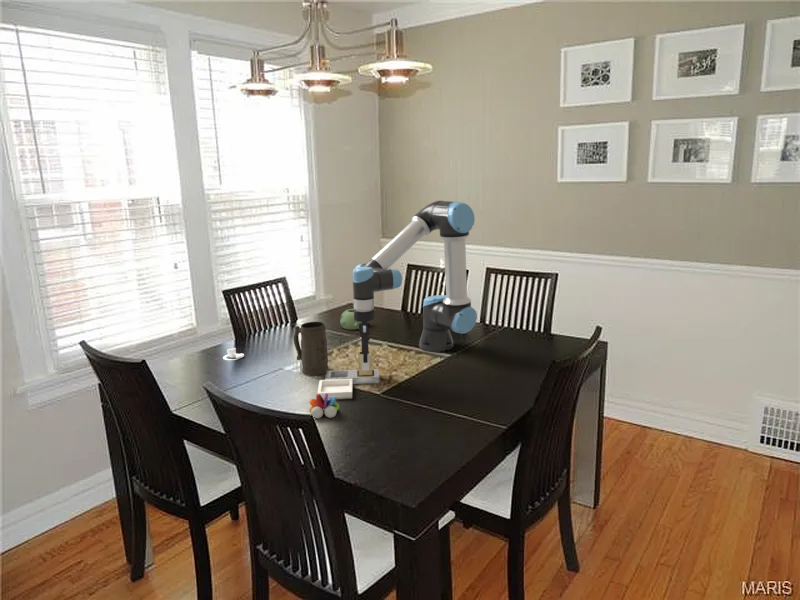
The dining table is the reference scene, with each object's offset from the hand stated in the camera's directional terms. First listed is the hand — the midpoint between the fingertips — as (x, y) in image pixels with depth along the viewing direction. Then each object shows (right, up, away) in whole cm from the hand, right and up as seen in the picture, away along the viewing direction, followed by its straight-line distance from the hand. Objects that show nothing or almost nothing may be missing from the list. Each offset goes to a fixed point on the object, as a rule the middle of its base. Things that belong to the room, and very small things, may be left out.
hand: (365, 363), depth 204 cm
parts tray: (-10, -9, -10) cm, 17 cm away
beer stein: (-23, -4, +12) cm, 26 cm away
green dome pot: (-10, +10, +67) cm, 69 cm away
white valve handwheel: (-58, -2, +25) cm, 63 cm away
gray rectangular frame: (-5, -6, +1) cm, 8 cm away
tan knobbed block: (0, -6, +2) cm, 6 cm away
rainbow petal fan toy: (-12, -14, -26) cm, 32 cm away
